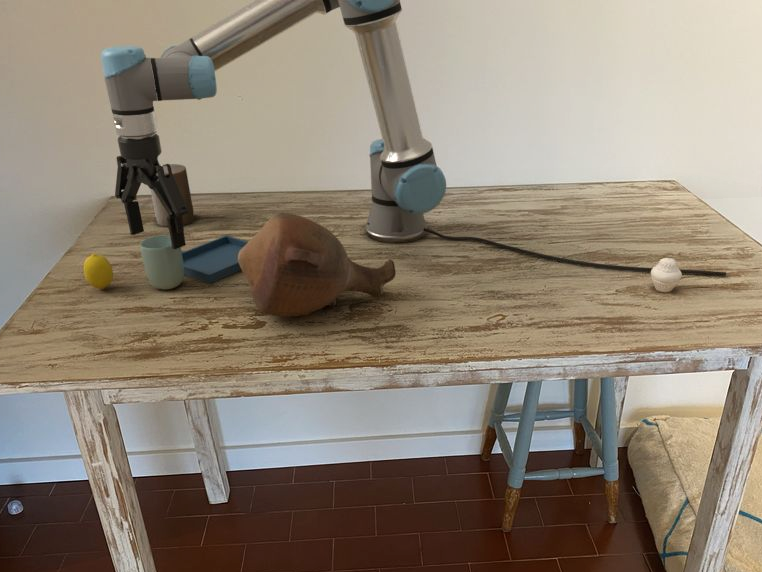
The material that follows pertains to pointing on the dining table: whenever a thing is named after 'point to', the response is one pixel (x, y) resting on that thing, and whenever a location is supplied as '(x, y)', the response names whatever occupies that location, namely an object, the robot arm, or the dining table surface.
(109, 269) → the lemon
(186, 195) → the pillar candle
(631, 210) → the dining table surface
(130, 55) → the robot arm
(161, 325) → the dining table surface
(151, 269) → the cup
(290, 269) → the jug
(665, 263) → the muffin
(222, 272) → the tray
